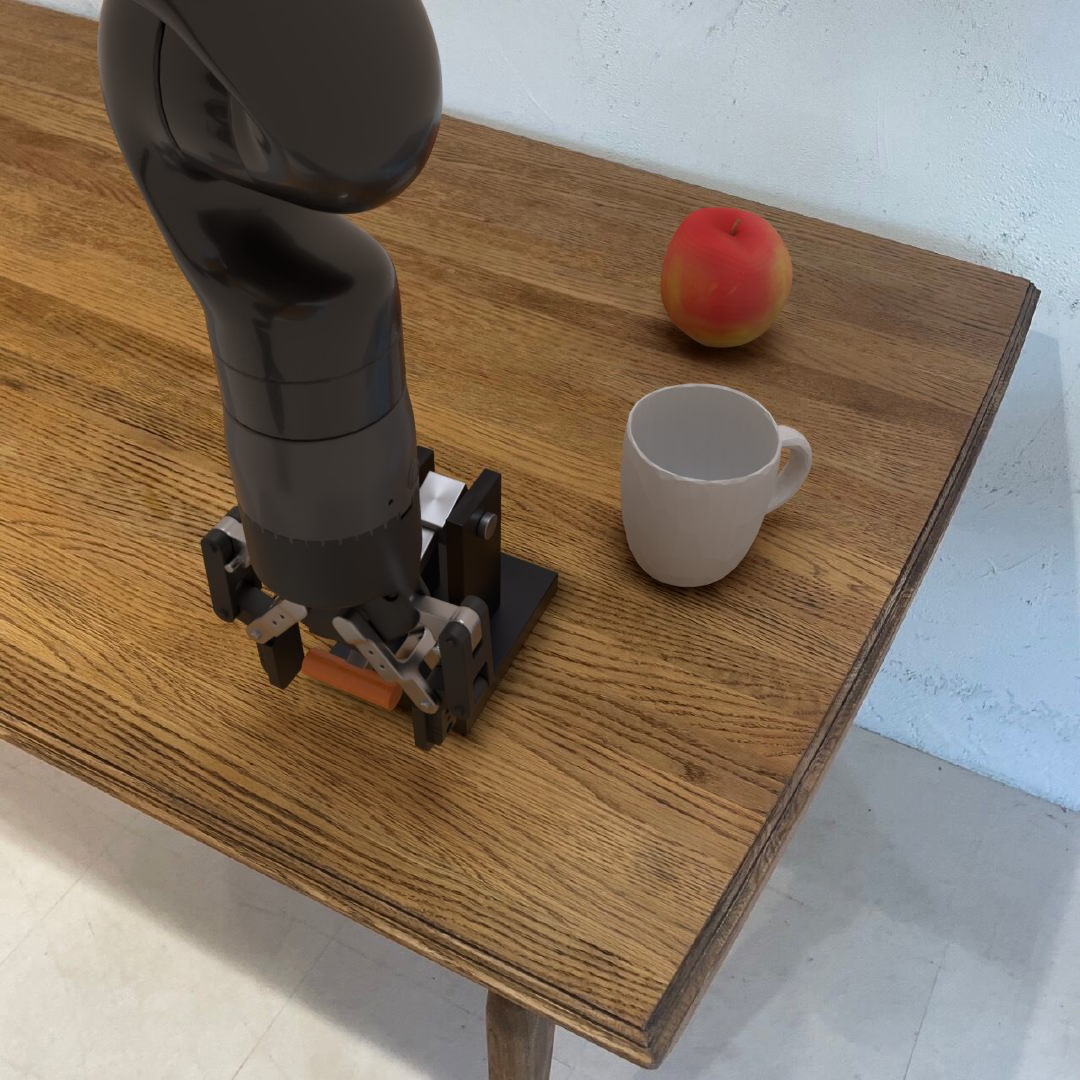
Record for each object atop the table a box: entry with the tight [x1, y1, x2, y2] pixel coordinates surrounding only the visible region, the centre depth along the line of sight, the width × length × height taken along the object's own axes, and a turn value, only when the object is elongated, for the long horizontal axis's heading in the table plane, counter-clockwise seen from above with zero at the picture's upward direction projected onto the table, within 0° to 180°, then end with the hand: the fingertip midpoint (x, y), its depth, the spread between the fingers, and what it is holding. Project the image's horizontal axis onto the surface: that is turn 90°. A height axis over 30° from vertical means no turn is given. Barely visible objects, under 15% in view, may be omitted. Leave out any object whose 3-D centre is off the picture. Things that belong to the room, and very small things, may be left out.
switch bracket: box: [328, 444, 559, 736], centre depth 63 cm, size 12×9×12 cm
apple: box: [659, 206, 794, 348], centre depth 85 cm, size 10×10×10 cm
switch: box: [301, 471, 469, 711], centre depth 58 cm, size 12×5×2 cm, turn 155°
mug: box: [619, 382, 813, 588], centre depth 69 cm, size 13×9×10 cm
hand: (359, 705), depth 58 cm, fingers open, 8 cm apart
